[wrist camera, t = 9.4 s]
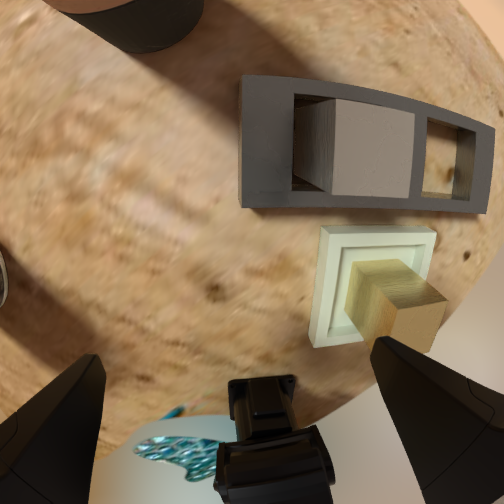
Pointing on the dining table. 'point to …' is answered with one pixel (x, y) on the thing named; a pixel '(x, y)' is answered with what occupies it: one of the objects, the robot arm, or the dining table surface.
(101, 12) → the travel mug
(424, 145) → the rail
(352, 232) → the tray
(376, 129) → the grey square block
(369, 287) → the beige wooden block
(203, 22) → the dining table surface
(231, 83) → the dining table surface
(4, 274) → the coffee can
